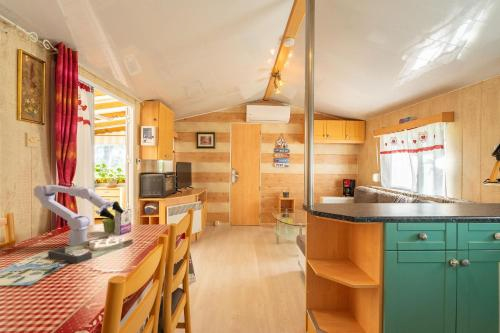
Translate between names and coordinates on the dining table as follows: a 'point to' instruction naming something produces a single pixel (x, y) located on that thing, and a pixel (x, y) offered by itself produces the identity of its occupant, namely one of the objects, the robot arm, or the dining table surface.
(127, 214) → the candy bar box
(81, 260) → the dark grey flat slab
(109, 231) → the plant pot
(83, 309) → the dining table surface
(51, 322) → the dining table surface
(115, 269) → the dining table surface
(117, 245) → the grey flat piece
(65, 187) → the robot arm
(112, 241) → the white brass knuckles
